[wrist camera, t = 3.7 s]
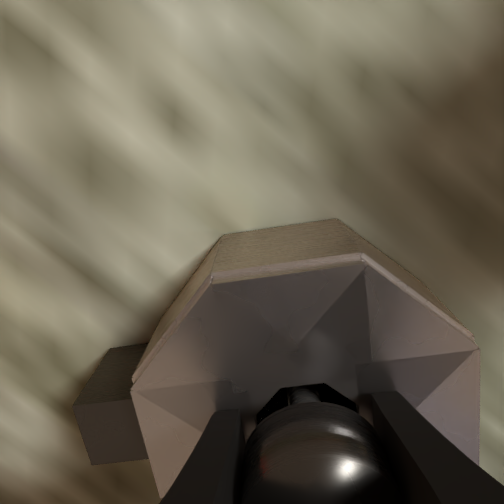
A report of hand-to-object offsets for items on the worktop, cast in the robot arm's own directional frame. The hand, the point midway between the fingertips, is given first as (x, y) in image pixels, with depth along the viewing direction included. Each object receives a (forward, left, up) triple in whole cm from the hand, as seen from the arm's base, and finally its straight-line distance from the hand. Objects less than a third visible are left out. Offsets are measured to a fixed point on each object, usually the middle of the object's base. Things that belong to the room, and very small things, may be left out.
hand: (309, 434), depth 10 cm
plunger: (0, 0, -4) cm, 4 cm away
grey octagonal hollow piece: (0, 0, -4) cm, 4 cm away
